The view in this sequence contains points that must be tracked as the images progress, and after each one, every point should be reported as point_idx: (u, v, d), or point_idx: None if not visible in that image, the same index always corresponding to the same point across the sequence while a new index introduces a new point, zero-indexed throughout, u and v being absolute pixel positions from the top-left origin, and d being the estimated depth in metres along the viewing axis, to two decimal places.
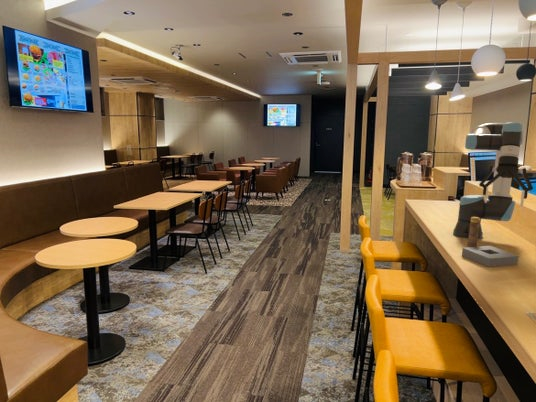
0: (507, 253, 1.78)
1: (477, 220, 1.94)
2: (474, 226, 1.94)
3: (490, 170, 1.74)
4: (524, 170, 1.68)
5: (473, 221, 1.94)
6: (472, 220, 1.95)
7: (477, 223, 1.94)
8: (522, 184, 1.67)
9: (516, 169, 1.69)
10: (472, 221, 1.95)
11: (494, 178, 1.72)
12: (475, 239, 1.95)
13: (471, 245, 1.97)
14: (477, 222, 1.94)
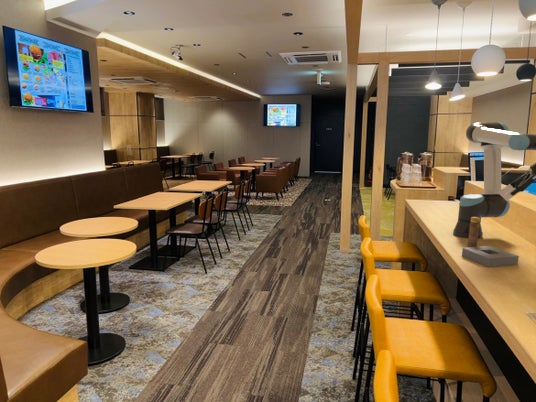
0: (507, 253, 1.78)
1: (477, 220, 1.94)
2: (474, 226, 1.94)
3: None
4: None
5: (473, 221, 1.94)
6: (472, 220, 1.95)
7: (477, 223, 1.94)
8: None
9: None
10: (472, 221, 1.95)
11: None
12: (475, 239, 1.95)
13: (471, 245, 1.97)
14: (477, 222, 1.94)
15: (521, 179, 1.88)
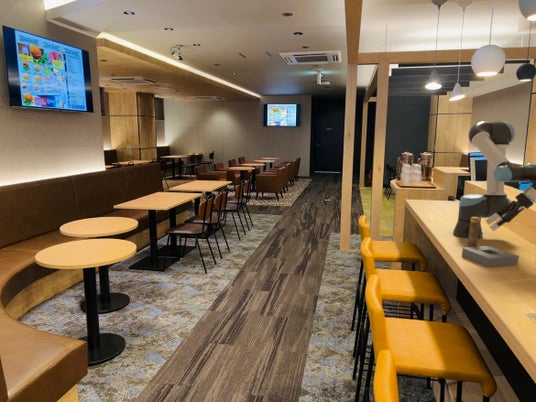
0: (507, 253, 1.78)
1: (477, 220, 1.94)
2: (474, 226, 1.94)
3: None
4: None
5: (473, 221, 1.94)
6: (472, 220, 1.95)
7: (477, 223, 1.94)
8: None
9: None
10: (472, 221, 1.95)
11: None
12: (475, 239, 1.95)
13: (471, 245, 1.97)
14: (477, 222, 1.94)
15: (507, 208, 1.91)
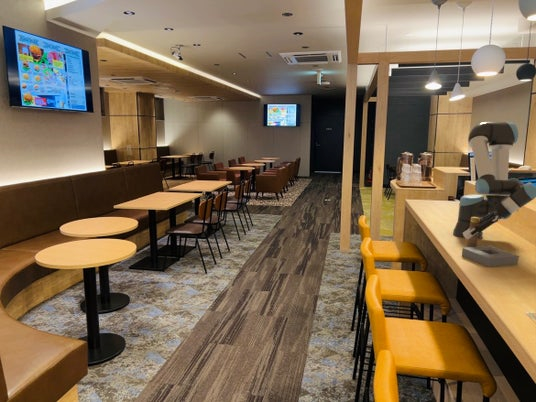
0: (507, 253, 1.78)
1: (477, 220, 1.94)
2: (474, 226, 1.94)
3: None
4: None
5: (473, 221, 1.94)
6: (472, 220, 1.95)
7: (477, 223, 1.94)
8: None
9: None
10: (472, 221, 1.95)
11: None
12: (475, 239, 1.95)
13: (471, 245, 1.97)
14: (477, 222, 1.94)
15: (486, 219, 1.95)
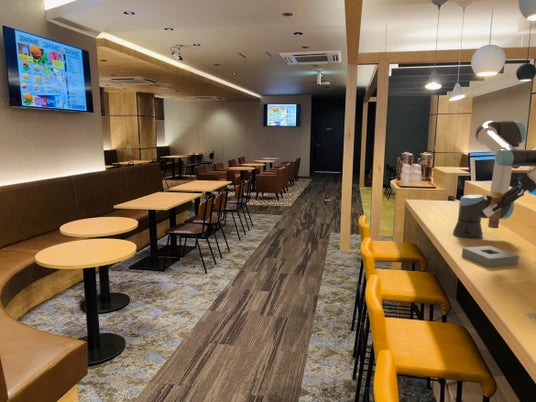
0: (507, 253, 1.78)
1: (499, 195, 1.73)
2: None
3: None
4: None
5: (495, 196, 1.74)
6: (494, 195, 1.74)
7: (499, 198, 1.73)
8: None
9: None
10: (494, 196, 1.74)
11: None
12: (497, 216, 1.75)
13: (492, 223, 1.76)
14: (499, 197, 1.73)
15: (509, 194, 1.74)
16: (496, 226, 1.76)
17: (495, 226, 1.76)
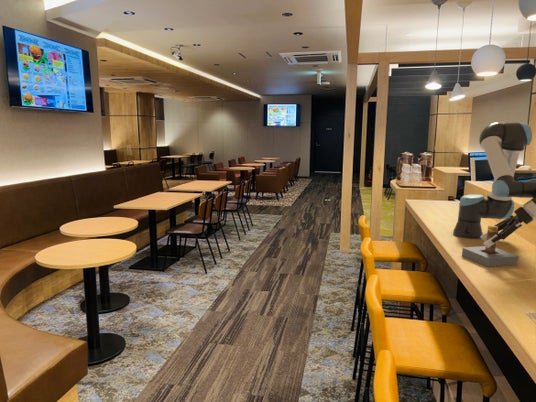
0: (507, 253, 1.78)
1: (495, 229, 1.76)
2: (492, 236, 1.77)
3: None
4: None
5: (491, 230, 1.77)
6: (489, 229, 1.77)
7: (495, 233, 1.76)
8: None
9: None
10: (489, 230, 1.77)
11: None
12: (493, 250, 1.78)
13: None
14: (495, 231, 1.76)
15: (505, 224, 1.78)
16: None
17: None
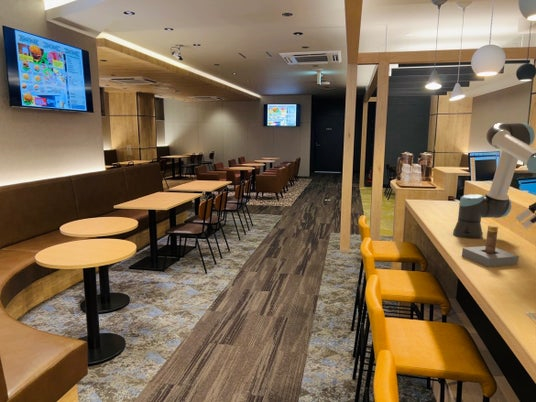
0: (507, 253, 1.78)
1: (495, 229, 1.76)
2: (492, 236, 1.77)
3: None
4: None
5: (490, 230, 1.77)
6: (489, 229, 1.77)
7: (495, 233, 1.76)
8: None
9: None
10: (489, 230, 1.77)
11: None
12: (493, 250, 1.78)
13: None
14: (495, 231, 1.76)
15: None
16: None
17: None
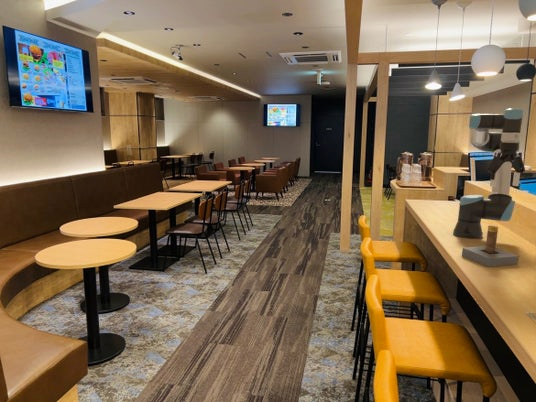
0: (507, 253, 1.78)
1: (495, 229, 1.76)
2: (492, 236, 1.77)
3: (499, 156, 1.83)
4: (520, 154, 1.86)
5: (491, 230, 1.77)
6: (489, 229, 1.77)
7: (495, 233, 1.76)
8: (518, 167, 1.88)
9: (515, 154, 1.86)
10: (489, 230, 1.77)
11: (501, 164, 1.85)
12: (493, 250, 1.78)
13: None
14: (495, 231, 1.76)
15: (511, 162, 1.88)
16: None
17: None
